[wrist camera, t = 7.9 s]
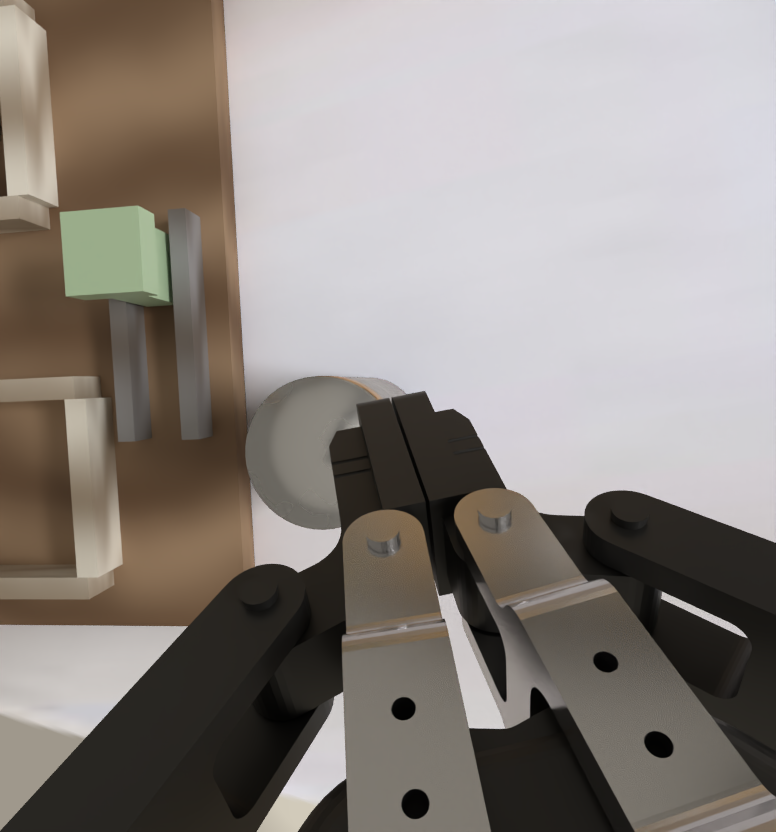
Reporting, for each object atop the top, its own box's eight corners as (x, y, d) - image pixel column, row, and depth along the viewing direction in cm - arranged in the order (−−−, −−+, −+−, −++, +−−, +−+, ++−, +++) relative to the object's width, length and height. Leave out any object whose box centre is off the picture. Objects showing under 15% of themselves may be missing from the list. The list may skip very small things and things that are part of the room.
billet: (316, 379, 29) (240, 379, 19) (418, 374, 29) (392, 372, 19) (321, 480, 29) (248, 531, 20) (422, 477, 29) (399, 529, 19)
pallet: (-154, 34, 31) (-231, -9, 28) (222, -16, 29) (188, -70, 25) (-103, 612, 33) (-170, 639, 29) (257, 614, 30) (230, 644, 27)
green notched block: (126, 239, 28) (59, 212, 24) (193, 234, 28) (137, 205, 23) (131, 310, 28) (65, 296, 24) (197, 305, 28) (143, 291, 23)
